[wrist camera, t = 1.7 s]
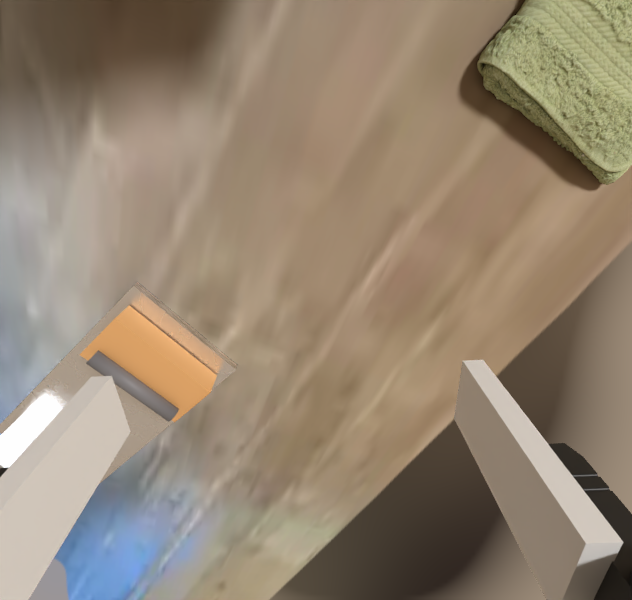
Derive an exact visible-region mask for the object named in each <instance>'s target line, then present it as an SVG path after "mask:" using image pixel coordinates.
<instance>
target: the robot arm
mask: <svg viewBox="0 0 632 600" xmlns="http://www.w3.org/2000/svg"><path fill="white" fill-rule="evenodd" d="M454 419H455V421H456V423H457V425H458V427H459V429H460V430H461V432H462V435H463V436H464V439H465V440H466V442H467V444H468V446H469V448H470V450H471V452H472V454H473V456H474V458H475V460H476V462H477V464H478V466H479V468H480V470H481V472H482V474H483V476H484V478H485V480H486V482H487V484H488V486H489V488H490V490H491V492H492V494H493V496H494V498H495V499H496V502H497V503H498V506H499V507H500V509H501V511H502V513H503V515H504V517H505V519H506V521H507V523H508V525H509V527H510V529H511V531H512V533H513V535H514V537H515V539H516V541H517V543H518V545H519V547H520V549H521V551H522V553H523V555H524V557H525V559H526V561H527V563H528V565H529V567H530V569H531V570H532V573H533V574H534V576H535V578H536V580H537V582H538V584H539V586H540V588H541V590H542V592H543V594H544V596H545V598H546V600H632V514H631V513H630V512H629V511H628V509H627V508H626V507H625V506H624V504H623V503H622V502H621V501H620V500H619V499H618V497H617V496H616V495H615V494H614V493H613V491H610V490H609V487H608V486H607V484H606V483H605V482H604V481H603V480H602V478H601V477H598V475H597V473H596V472H595V470H594V469H593V468H592V467H591V466H590V464H589V463H588V462H587V461H586V460H585V458H583V457H582V456H581V455H580V454H578V453H577V452H576V451H574V450H573V449H572V448H570V447H569V446H567V445H566V444H565V443H558V444H548V443H547V442H546V441H545V440H544V438H543V437H542V436H541V434H540V433H539V432H538V430H537V429H536V428H535V427H534V425H533V424H532V423H531V421H530V420H529V419H528V417H527V416H526V415H525V414H524V412H523V411H522V410H521V408H520V407H519V406H518V404H517V403H516V402H515V401H514V399H513V398H512V397H511V395H510V394H509V393H508V391H507V390H506V389H505V388H504V386H503V385H502V384H501V382H500V381H499V380H498V378H497V377H496V376H495V375H494V373H493V372H492V371H491V369H490V368H489V367H488V365H487V364H486V363H485V361H484V360H468V361H463V362H462V368H461V375H460V382H459V389H458V395H457V402H456V409H455V415H454ZM130 432H131V431H130V428H129V425H128V422H127V419H126V416H125V413H124V410H123V407H122V404H121V402H120V399H119V396H118V393H117V390H116V387H115V384H114V381H113V378H112V376H97V377H91V378H90V379H89V380H88V381H87V382H86V383H85V384H84V386H83V387H82V388H81V389H80V390H79V391H78V392H77V393H76V394H75V396H74V397H73V398H72V399H71V400H70V401H69V402H68V403H67V404H66V405H65V407H64V408H63V409H62V410H61V411H60V412H59V413H58V414H57V415H56V416H55V418H54V419H53V420H52V421H51V422H50V423H49V424H48V425H47V426H46V427H45V429H44V430H43V431H42V432H41V433H40V434H39V435H38V436H37V437H36V438H35V440H34V441H33V442H32V443H31V444H30V445H29V446H28V447H27V448H26V449H25V451H24V452H23V453H22V454H21V455H20V456H19V457H18V458H17V459H16V460H15V462H14V463H13V464H12V465H11V466H10V467H9V468H0V600H28V599H29V598H30V596H31V595H32V593H33V591H34V590H35V588H36V587H37V585H38V583H39V581H40V580H41V578H42V576H43V575H44V573H45V572H46V570H47V568H48V567H49V565H50V563H51V562H52V560H53V559H54V557H55V555H56V554H57V552H58V550H59V549H60V547H61V545H62V544H63V542H64V540H65V539H66V537H67V536H68V534H69V532H70V531H71V529H72V527H73V526H74V524H75V522H76V521H77V519H78V517H79V516H80V514H81V512H82V511H83V509H84V508H85V506H86V504H87V503H88V501H89V499H90V498H91V496H92V494H93V493H94V491H95V489H96V488H97V486H98V485H99V483H100V481H101V480H102V478H103V476H104V475H105V473H106V471H107V470H108V468H109V466H110V465H111V463H112V462H113V460H114V458H115V457H116V455H117V453H118V452H119V450H120V448H121V447H122V445H123V443H124V442H125V440H126V438H127V437H128V435H129V434H130Z"/></svg>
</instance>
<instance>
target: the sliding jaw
mask: <svg viewBox="0 0 632 600" xmlns="http://www.w3.org/2000/svg"><path fill="white" fill-rule="evenodd" d="M80 355H81V356H82V357H83V358H85V359H86V360H88V361H87V362H86V364H87V365H89V366H90V367H92V368H93V369H94V370H96V371H97V372H99V373H100V374H102V375H103V376H112V378H113V381H114V384H116V385H117V386H119V387H120V388H121V389H123V390H124V391H126V392H127V393H128V394H130V395H131V396H133V397H134V398H136V399H137V400H138V401H140V402H141V403H143V404H144V405H145V406H147V407H148V408H150V409H151V410H152V411H154V412H155V413H157V414H158V415H160V416H161V417H162V418H164V419H165V420H167V421H168V422H169V421H171V420H172V421H173V422H176V421H177V420H178V419H179V418H180V417H182V416H183V415H184V414H185V413H187V412H188V411H189V410H190V409H191V408H193V407H194V406H195V405H196V404H197V403H199V402H200V401H201V400H202V399H203V398H205V397H206V396H207V395H208V394H209V393H211V390H212V388H213V385H214V382H215V380H216V377H217V375H216V374H215V373H213V372H212V371H211V370H210V369H208V368H207V367H206V366H205V365H203V364H202V363H201V362H200V361H198V360H197V359H196V358H195V357H193V356H192V355H191V354H190V353H188V352H187V351H186V350H185V349H183V348H182V347H181V346H180V345H178V344H177V343H176V342H175V341H173V340H172V339H171V338H170V337H168V336H167V335H166V334H165V333H163V332H162V331H161V330H160V329H158V328H157V327H156V326H155V325H153V324H152V323H151V322H150V321H148V320H147V319H146V318H144V317H143V316H142V315H141V314H139V313H138V312H137V311H136V310H134V309H133V308H132V307H131V306H128V307H127V308H126V309H124V310H123V311H122V312H121V313H120V314H119V315H118V316H117V317H116V318H115V319H114V320H113V321H112V322H111V323H110V324H109V325H108V326H107V327H106V328H105V329H104V330H103V331H102V332H101V333H100V334H99V335H98V336H97V337H96V338H95V339H94V340H93V341H92V342H91V343H90V344H89V345H88V346H87V347H86V348H85V349H84V350H83V352H82V353H81V354H80Z"/></svg>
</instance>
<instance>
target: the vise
mask: <svg viewBox="0 0 632 600" xmlns="http://www.w3.org/2000/svg"><path fill="white" fill-rule="evenodd" d="M128 306H131V307H132V308H133V309H134V310H136V311H137V312H138V313H139V314H141V315H142V316H143V317H144V318H146V319H147V320H148V321H150V322H151V323H152V324H153V325H155V326H156V327H157V328H158V329H160V330H161V331H162V332H163V333H165V334H166V335H167V336H168V337H170V338H171V339H172V340H173V341H175V342H176V343H177V344H178V345H180V346H181V347H182V348H183V349H185V350H186V351H187V352H188V353H190V354H191V355H192V356H193V357H195V358H196V359H197V360H198V361H200V362H201V363H202V364H203V365H205V366H206V367H207V368H208V369H210V370H211V371H212V372H213V373H215V374H216V375H217V377H216V380H215V382H214V385H213V388H212V390H213V389H214V388H215V387H216V386H217V385H219V384H220V383H221V382H222V381H223V380H225V379H226V378H227V377H228V376H229V375H231V374H232V373H233V372H234V371H235V370H236V368H237V364H236V363H235V362H234V361H232V360H231V359H230V358H229V357H228V356H226V355H225V354H224V353H223V352H222V351H220V350H219V349H218V348H217V347H216V346H214V345H213V344H212V343H211V342H210V341H208V340H207V339H206V338H205V337H203V336H202V335H201V334H200V333H199V332H197V331H196V330H195V329H194V328H193V327H191V326H190V325H189V324H188V323H187V322H185V321H184V320H183V319H182V318H181V317H179V316H178V315H177V314H176V313H175V312H173V311H172V310H171V309H170V308H169V307H167V306H166V305H165V304H164V303H163V302H161V301H160V300H159V299H158V298H156V297H155V296H154V295H153V294H152V293H150V292H149V291H148V290H147V289H146V288H144V287H143V286H142V285H141V284H140V283H138V282H137V283H136V284H135V285H134V286H133V287H132V288H131V289H130V290H129V291H128V292H127V293H126V294H125V295H124V296H123V297H122V298H121V299H120V300H119V301H118V302H117V304H116V305H115V306H114V307H113V308H112V309H111V310H110V311H109V312H108V313H107V314H106V315H105V316H104V317H103V318H102V319H101V320H100V321H99V322H98V323H97V324H96V325H95V326H94V327H93V328H92V330H91V331H90V332H89V333H88V334H87V335H86V336H85V337H84V338H83V339H82V340H81V341H80V342H79V343H78V344H77V345H76V346H75V347H74V348H73V349H72V350H71V351H70V352H69V353H68V354H67V356H66V357H65V358H64V359H63V360H62V361H61V362H60V363H59V364H58V365H57V366H56V367H55V368H54V369H53V370H52V371H51V372H50V373H49V374H48V375H47V376H46V377H45V378H44V379H43V380H42V381H41V383H40V384H39V385H38V386H37V387H36V388H35V389H34V390H33V391H32V392H31V393H30V394H29V395H28V396H27V397H26V398H25V399H24V400H23V401H22V402H21V403H20V404H19V405H18V406H17V407H16V409H15V410H14V411H13V412H12V413H11V414H10V415H9V416H8V417H7V418H6V419H5V420H4V421H3V422H2V423H1V424H0V433H1V434H2V435H1V436H0V468H9V467H10V466H11V465H12V464H13V463H14V462H15V460H16V459H17V458H18V457H19V456H20V455H21V454H22V453H23V452H24V451H25V449H26V448H27V447H28V446H29V445H30V444H31V443H32V442H33V441H34V440H35V438H36V437H37V436H38V435H39V434H40V433H41V432H42V431H43V430H44V429H45V427H46V426H47V425H48V424H49V423H50V422H51V421H52V420H53V419H54V418H55V416H56V415H57V414H58V413H59V412H60V411H61V410H62V409H63V408H64V407H65V405H66V404H67V403H68V402H69V401H70V400H71V399H72V398H73V397H74V396H75V394H76V393H77V392H78V391H79V390H80V389H81V388H82V387H83V386H84V384H85V383H86V382H87V381H88V380H89V379H90V378H91V377H97V376H103V375H102V374H100V373H99V372H97V371H96V370H94V369H93V368H92V367H90V366H89V365H87V364H86V362H87V361H88V360H86V359H85V358H83V357H82V356H81V355H80V354H81V353H82V352H83V350H84V349H85V348H86V347H87V346H88V345H89V344H90V343H91V342H92V341H93V340H94V339H95V338H96V337H97V336H98V335H99V334H100V333H101V332H102V331H103V330H104V329H105V328H106V327H107V326H108V325H109V324H110V323H111V322H112V321H113V320H114V319H115V318H116V317H117V316H118V315H119V314H120V313H121V312H122V311H123V310H124V309H126V308H127V307H128ZM115 387H116V390H117V393H118V396H119V399H120V402H121V404H122V407H123V410H124V413H125V416H126V419H127V422H128V425H129V428H130V431H131V432H130V434H129V435H128V437H127V438H126V440H125V442H124V443H123V445H122V447H121V448H120V450H119V452H118V453H117V455H116V457H115V458H114V460H113V462H112V463H111V465H110V466H109V468H108V470H107V471H106V473H105V475H104V476H103V478H102V480H101V481H100V483H101V482H102V481H103V480H104V479H106V478H107V477H108V476H109V475H110V474H112V473H113V472H114V471H115V470H116V469H118V468H119V467H120V466H121V465H122V464H124V463H125V462H126V461H127V460H128V459H130V458H131V457H132V456H133V455H134V454H136V453H137V452H138V451H139V450H140V449H142V448H143V447H144V446H145V445H146V444H148V443H149V442H150V441H151V440H152V439H154V438H155V437H156V436H157V435H158V434H160V433H161V432H162V431H163V430H164V429H166V428H167V427H168V426H169V425H170V424H172V423H173V421H172V420H171V421H169V422H168V421H167V420H165V419H164V418H162V417H161V416H160V415H158V414H157V413H155V412H154V411H152V410H151V409H150V408H148V407H147V406H145V405H144V404H143V403H141V402H140V401H138V400H137V399H136V398H134V397H133V396H131V395H130V394H128V393H127V392H126V391H124V390H123V389H121V388H120V387H119V386H117V385H116V384H115ZM100 483H99V484H100Z"/></svg>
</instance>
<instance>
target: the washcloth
mask: <svg viewBox="0 0 632 600" xmlns="http://www.w3.org/2000/svg"><path fill="white" fill-rule="evenodd" d="M477 67H478V70H479V72H480V73H481V75H482V76H483V77H484V78H483V85H484V87H485V89H486V90H489V91H491V93H493V94H494V95H495V96H496V99H499V100H502V101H503V102H504V103H507V105H510V106H511V107H513V108H515V109H517V110H519V111H521V113H522V114H523V115H524V116H526V118H527V119H529V120H530V121H531V122H534V123H535V125H536V126H540V127H542V128H543V131H545V132H548V133H549V135H550V136H552V137H553V140H554V141H557V144H558V145H561V144H562V147H566V150H567V151H568V150H569V151H570V152H573V153H574V156H576V157H577V159H580V160H581V162H582V164H584V165H586V166H587V168H588V170H590V171H593V175H595V177H596V178H597V179H599V182H600V183H603V184H606V185H608V184H611V183H613V182H615V181H616V180H617V179H618V178H619V177H621V176H622V175H623V174H624V173H625V172H626V171H627V170H628V168H629V167H630V166H631V165H632V0H525V2H524V3H523V5H522V6H521V8H520V10H519V11H518V13H517V14H516V15H515V16H513V17H512V18H511V19H510V20H509V21H508V22H507V23H506V24H505V26H503V27H502V28H501V31H500V32H499V33H498V34H497V35H496V37H495V39H493V40H492V41H491V42H490V43H489V44H488V45H487V47H486V49H485V50H484V51H483V52H482V53H481V56H480V57H479V61H478V63H477Z"/></svg>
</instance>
